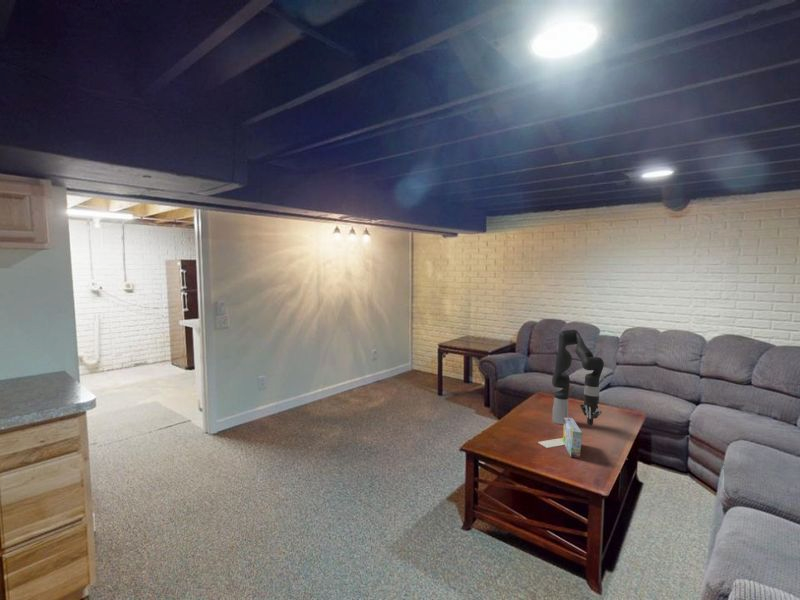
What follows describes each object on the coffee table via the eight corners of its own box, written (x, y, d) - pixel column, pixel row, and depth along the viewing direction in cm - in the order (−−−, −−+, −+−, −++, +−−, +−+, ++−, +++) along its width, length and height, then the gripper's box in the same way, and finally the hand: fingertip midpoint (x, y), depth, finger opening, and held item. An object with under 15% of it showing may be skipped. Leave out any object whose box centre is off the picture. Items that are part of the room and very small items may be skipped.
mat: (537, 442, 240) (537, 441, 240) (569, 437, 248) (569, 436, 248) (547, 448, 232) (547, 447, 232) (579, 442, 240) (579, 441, 240)
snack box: (581, 458, 220) (582, 432, 218) (570, 457, 221) (571, 431, 219) (571, 441, 241) (573, 417, 239) (561, 440, 242) (563, 416, 240)
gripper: (576, 390, 221) (575, 421, 222) (595, 397, 208) (594, 430, 210) (587, 389, 223) (586, 419, 225) (606, 396, 211) (605, 428, 212)
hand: (590, 424), depth 217 cm, fingers closed
